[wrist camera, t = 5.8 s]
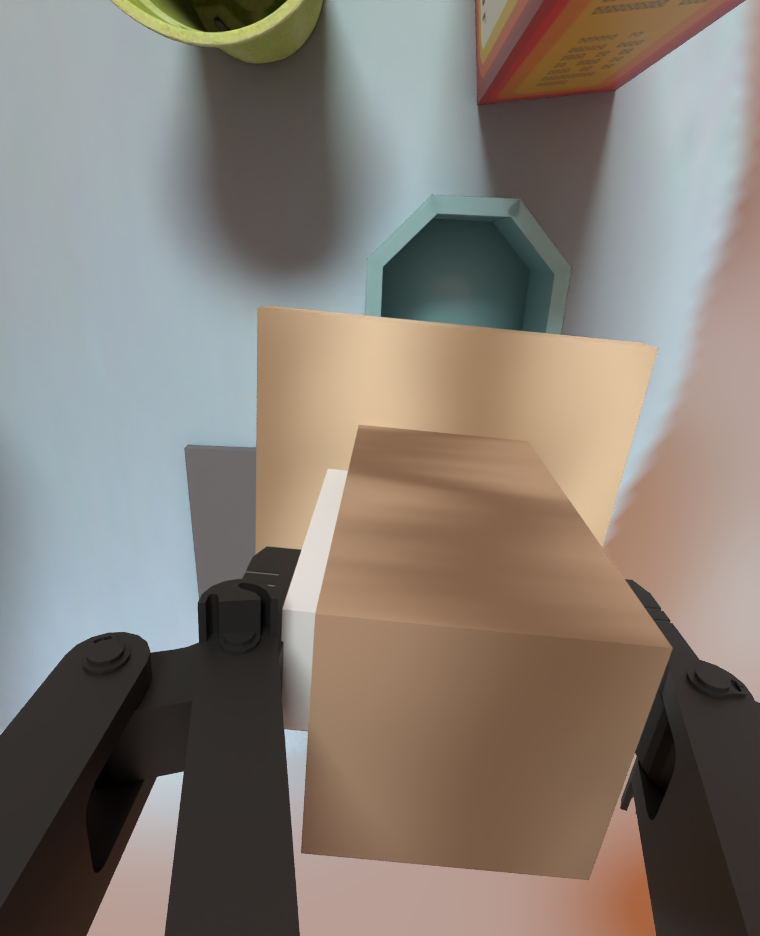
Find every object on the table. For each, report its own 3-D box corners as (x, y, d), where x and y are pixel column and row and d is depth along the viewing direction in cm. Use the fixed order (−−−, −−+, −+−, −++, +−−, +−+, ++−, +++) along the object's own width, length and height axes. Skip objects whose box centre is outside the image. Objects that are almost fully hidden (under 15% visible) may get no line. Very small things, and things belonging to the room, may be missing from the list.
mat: (203, 611, 37) (200, 617, 36) (187, 445, 32) (184, 448, 32) (380, 618, 37) (380, 624, 36) (388, 453, 32) (388, 456, 32)
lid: (261, 618, 20) (139, 941, 10) (266, 305, 16) (74, 379, 6) (561, 646, 20) (706, 994, 10) (642, 342, 16) (995, 469, 6)
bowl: (365, 378, 31) (362, 401, 26) (371, 201, 27) (368, 191, 23) (524, 385, 31) (549, 408, 26) (549, 209, 27) (583, 201, 23)
